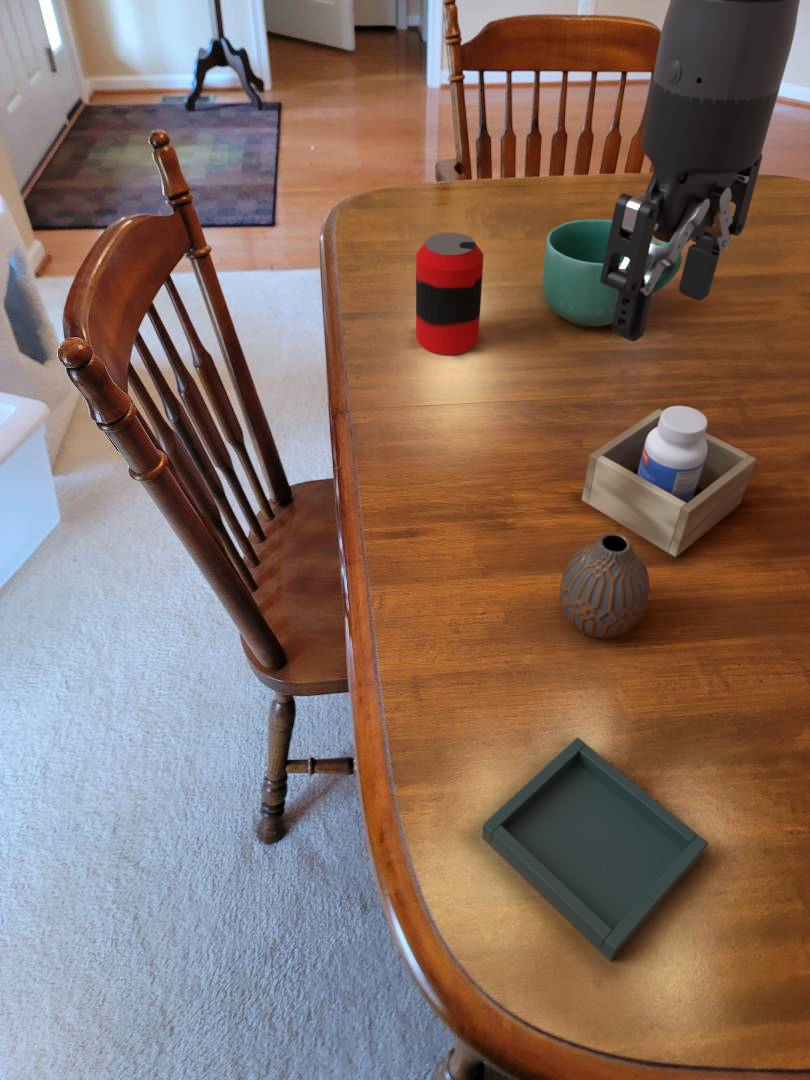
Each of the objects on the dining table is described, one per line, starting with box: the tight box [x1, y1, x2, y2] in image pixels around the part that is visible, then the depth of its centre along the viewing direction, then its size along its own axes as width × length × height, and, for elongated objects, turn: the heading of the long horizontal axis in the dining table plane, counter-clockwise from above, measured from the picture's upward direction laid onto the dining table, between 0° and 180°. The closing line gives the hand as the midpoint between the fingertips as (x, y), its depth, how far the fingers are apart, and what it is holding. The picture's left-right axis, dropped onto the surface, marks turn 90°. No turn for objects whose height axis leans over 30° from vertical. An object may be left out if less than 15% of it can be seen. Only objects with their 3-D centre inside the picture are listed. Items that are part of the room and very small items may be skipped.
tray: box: [481, 737, 709, 962], centre depth 54 cm, size 11×10×2 cm
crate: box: [581, 408, 757, 558], centre depth 77 cm, size 11×11×6 cm
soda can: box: [415, 232, 484, 356], centre depth 97 cm, size 8×8×12 cm
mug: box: [542, 218, 683, 328], centre depth 102 cm, size 17×13×10 cm
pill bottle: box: [636, 405, 709, 503], centre depth 76 cm, size 6×5×10 cm
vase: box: [559, 531, 651, 639], centre depth 66 cm, size 7×7×9 cm
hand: (660, 315), depth 62 cm, fingers open, 8 cm apart
